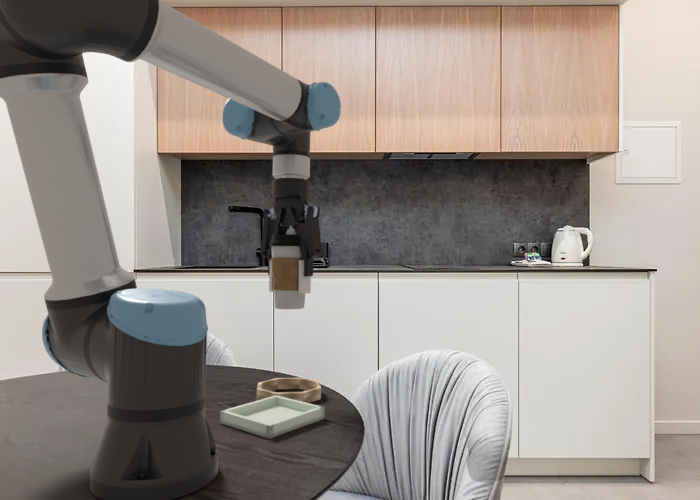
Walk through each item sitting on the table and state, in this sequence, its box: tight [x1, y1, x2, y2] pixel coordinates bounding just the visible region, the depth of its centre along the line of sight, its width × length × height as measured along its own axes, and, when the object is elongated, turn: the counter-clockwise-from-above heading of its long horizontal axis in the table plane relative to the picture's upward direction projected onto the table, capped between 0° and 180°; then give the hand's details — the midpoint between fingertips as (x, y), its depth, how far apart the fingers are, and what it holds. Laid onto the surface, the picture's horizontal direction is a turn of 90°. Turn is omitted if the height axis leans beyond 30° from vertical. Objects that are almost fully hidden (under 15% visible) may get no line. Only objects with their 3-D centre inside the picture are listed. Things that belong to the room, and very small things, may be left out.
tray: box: [219, 395, 326, 440], centre depth 88 cm, size 13×12×2 cm
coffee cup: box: [270, 233, 306, 310], centre depth 104 cm, size 8×8×15 cm
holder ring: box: [256, 377, 322, 404], centre depth 104 cm, size 13×13×2 cm
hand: (289, 292), depth 104 cm, fingers closed on coffee cup, 7 cm apart
